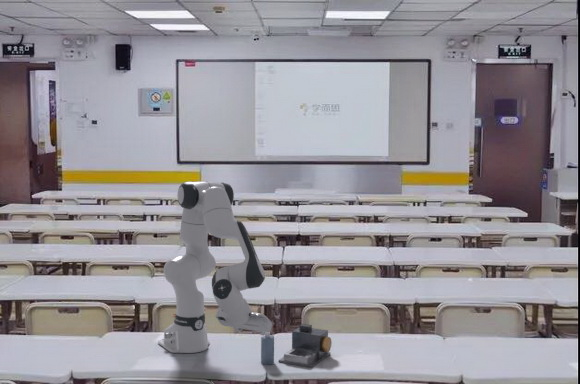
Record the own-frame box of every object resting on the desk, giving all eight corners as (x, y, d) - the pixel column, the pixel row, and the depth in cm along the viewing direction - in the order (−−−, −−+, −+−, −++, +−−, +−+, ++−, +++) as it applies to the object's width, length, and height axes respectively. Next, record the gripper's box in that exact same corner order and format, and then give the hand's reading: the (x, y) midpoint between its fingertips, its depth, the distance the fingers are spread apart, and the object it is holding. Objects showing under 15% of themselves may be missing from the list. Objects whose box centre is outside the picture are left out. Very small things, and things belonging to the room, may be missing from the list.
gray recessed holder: (278, 362, 289) (278, 332, 287) (298, 349, 305) (299, 320, 303) (313, 368, 282) (314, 337, 281) (332, 354, 298) (333, 325, 297)
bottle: (258, 362, 288) (258, 332, 286) (268, 359, 291) (268, 329, 290) (266, 366, 284) (267, 335, 283) (276, 363, 287) (276, 332, 286)
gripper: (267, 308, 262) (280, 328, 272) (217, 301, 271) (231, 321, 281) (261, 323, 259) (274, 343, 268) (211, 316, 268) (225, 335, 277)
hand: (252, 331), depth 275 cm, fingers open, 8 cm apart
